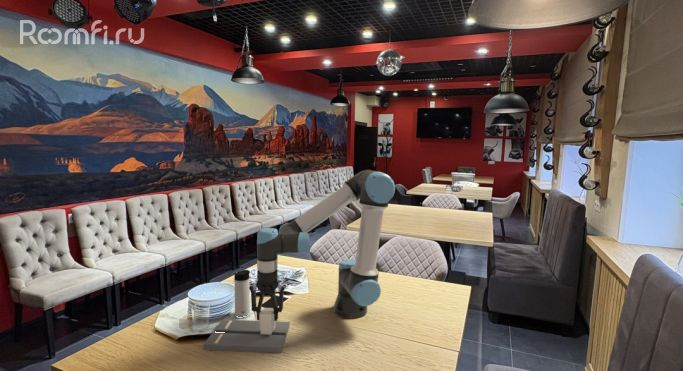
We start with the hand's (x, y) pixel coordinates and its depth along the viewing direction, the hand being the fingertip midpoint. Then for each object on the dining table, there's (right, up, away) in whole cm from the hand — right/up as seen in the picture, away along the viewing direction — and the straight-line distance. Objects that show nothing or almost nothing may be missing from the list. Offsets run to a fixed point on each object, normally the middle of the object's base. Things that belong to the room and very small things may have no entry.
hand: (267, 327), depth 133 cm
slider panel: (-7, -4, +1) cm, 8 cm away
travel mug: (-15, -2, +18) cm, 23 cm away
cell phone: (-3, -1, +29) cm, 30 cm away
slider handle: (0, -4, 0) cm, 4 cm away
